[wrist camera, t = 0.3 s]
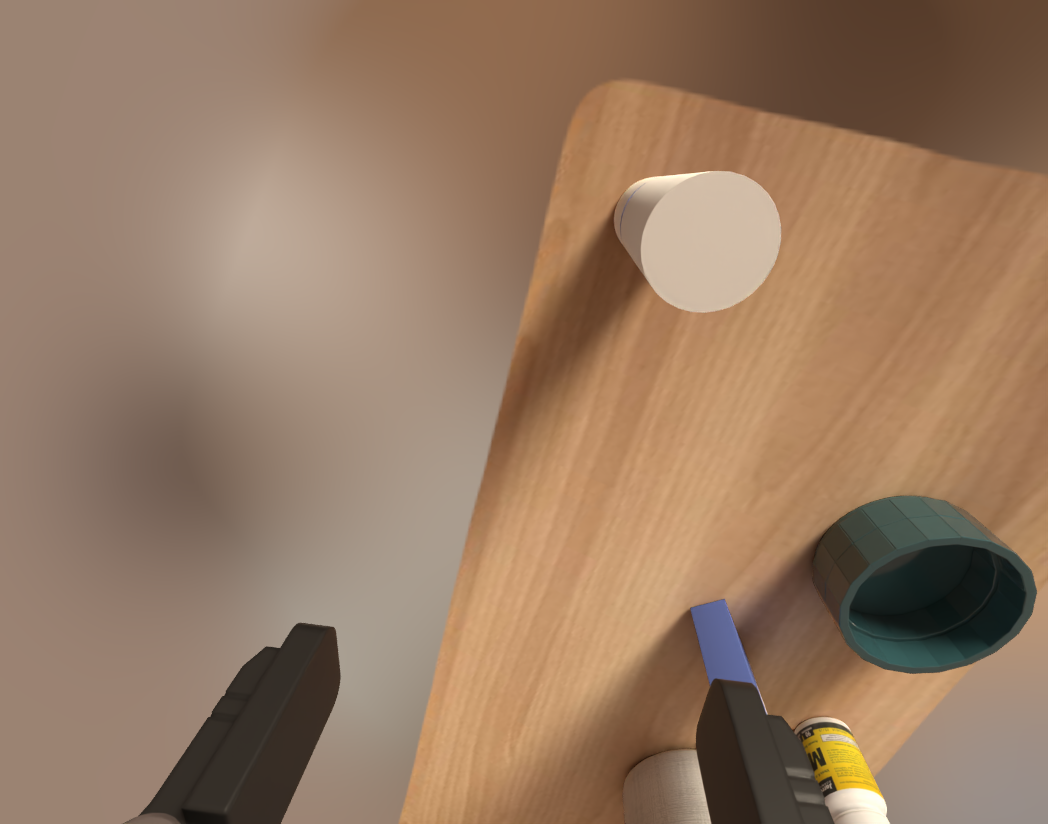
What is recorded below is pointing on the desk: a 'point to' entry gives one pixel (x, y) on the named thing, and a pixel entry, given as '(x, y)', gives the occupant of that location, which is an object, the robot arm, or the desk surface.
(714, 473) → the desk surface
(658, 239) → the tube
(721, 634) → the walkman
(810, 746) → the supplement bottle
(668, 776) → the planter
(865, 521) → the bowl
